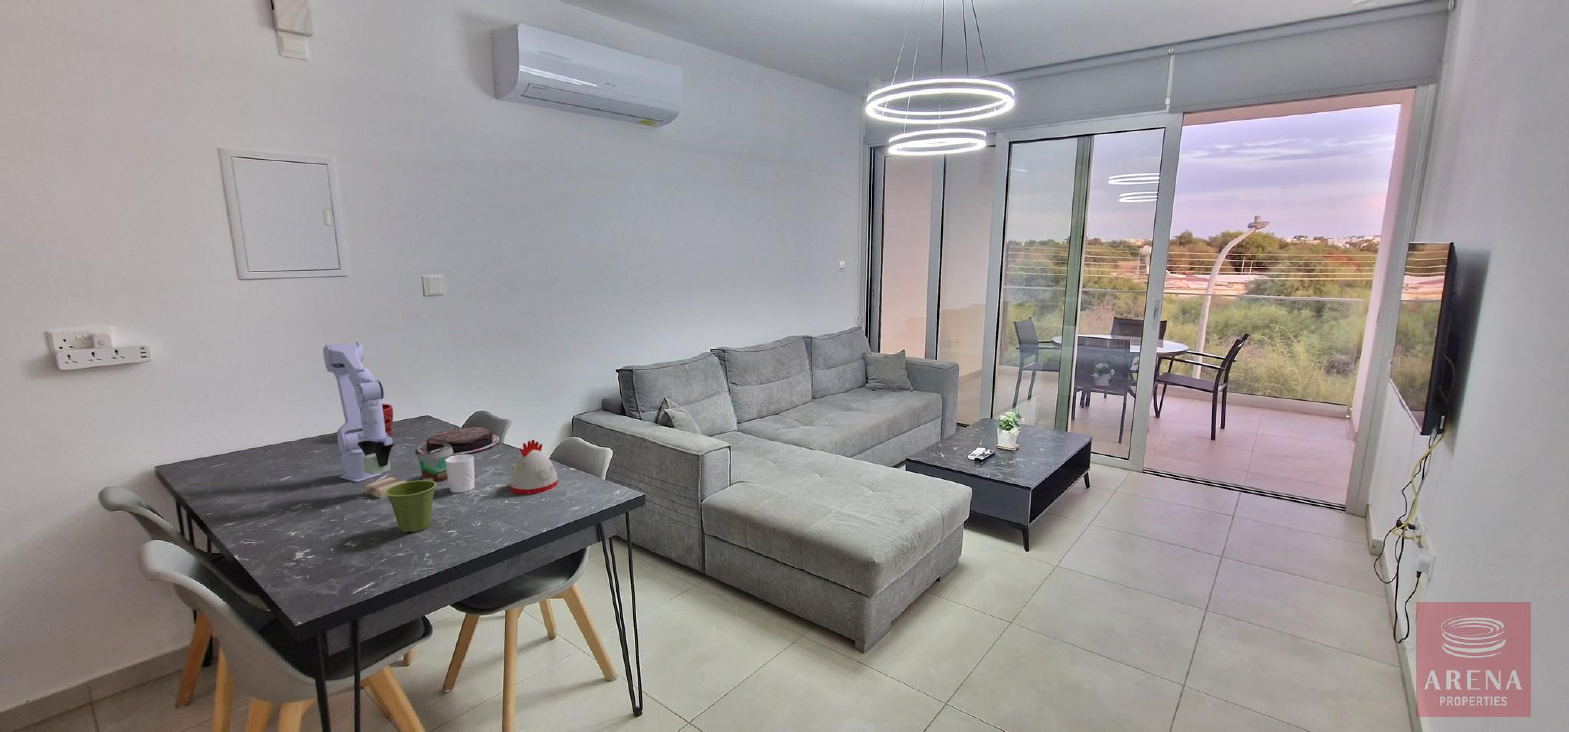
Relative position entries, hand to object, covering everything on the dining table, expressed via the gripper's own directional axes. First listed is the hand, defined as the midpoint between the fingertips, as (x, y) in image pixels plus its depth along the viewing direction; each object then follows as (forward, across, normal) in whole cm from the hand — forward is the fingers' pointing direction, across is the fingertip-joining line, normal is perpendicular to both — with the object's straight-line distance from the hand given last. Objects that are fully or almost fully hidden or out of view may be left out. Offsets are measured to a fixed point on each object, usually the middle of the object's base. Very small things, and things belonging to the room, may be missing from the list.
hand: (378, 464), depth 190 cm
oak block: (+9, +1, +1) cm, 10 cm away
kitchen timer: (+9, +38, +26) cm, 46 cm away
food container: (+9, +6, +16) cm, 19 cm away
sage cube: (+2, 0, 0) cm, 2 cm away
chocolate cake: (+10, -22, +42) cm, 48 cm away
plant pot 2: (+9, +34, -10) cm, 37 cm away
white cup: (+9, +20, +13) cm, 25 cm away
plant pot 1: (+9, -64, +35) cm, 73 cm away
